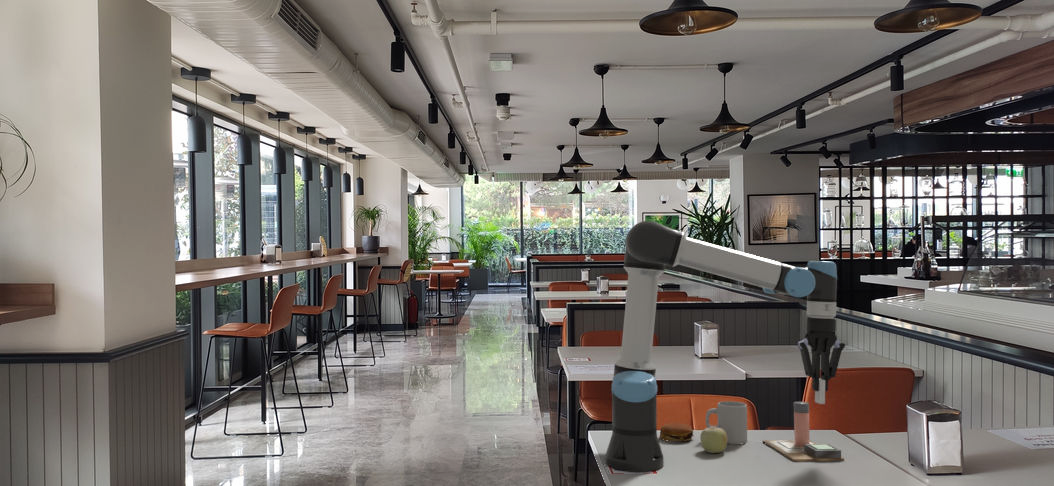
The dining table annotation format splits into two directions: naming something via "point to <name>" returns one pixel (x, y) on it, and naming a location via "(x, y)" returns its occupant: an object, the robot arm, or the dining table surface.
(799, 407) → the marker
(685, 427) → the burger
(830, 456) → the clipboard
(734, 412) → the mug
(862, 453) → the dining table surface
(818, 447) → the button
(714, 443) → the fruit
